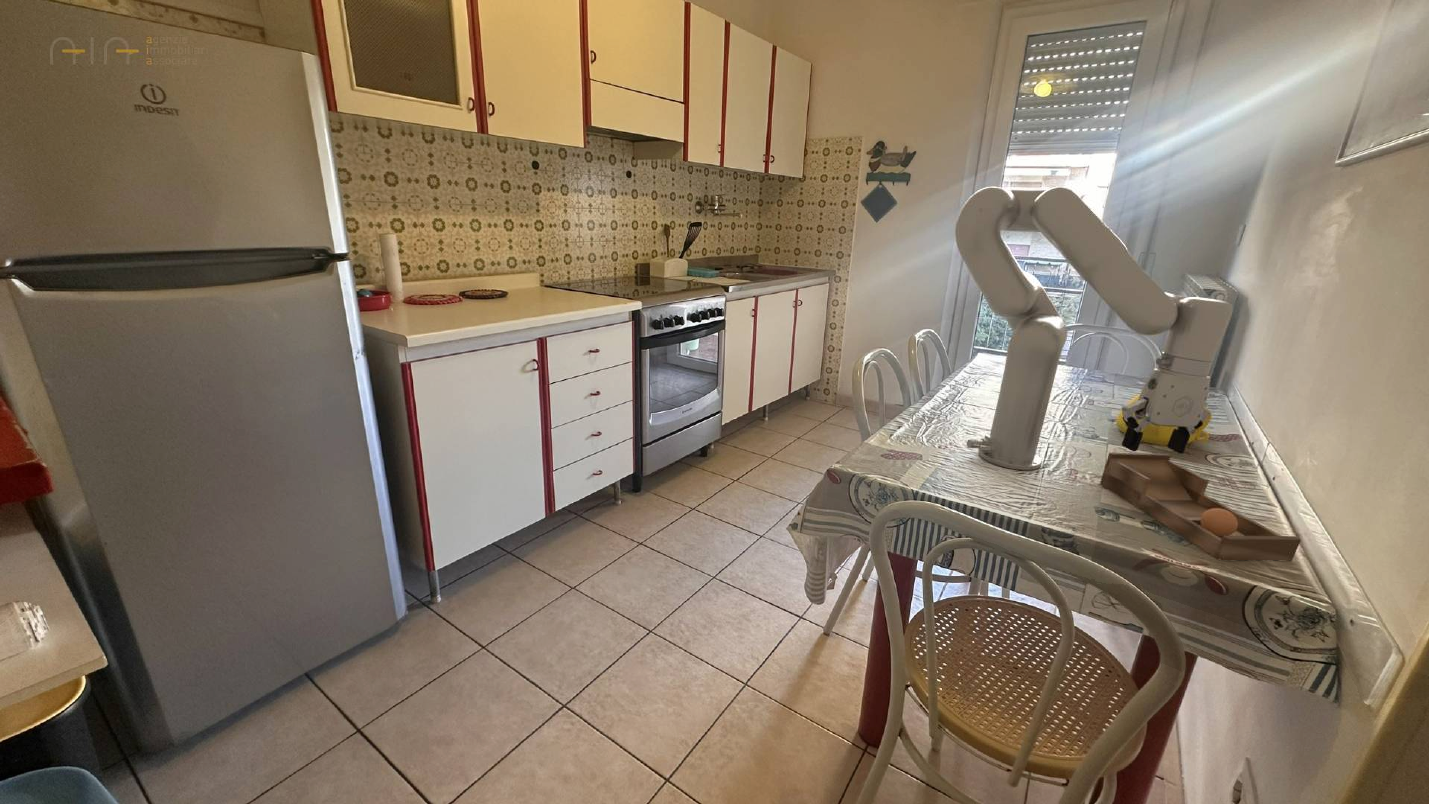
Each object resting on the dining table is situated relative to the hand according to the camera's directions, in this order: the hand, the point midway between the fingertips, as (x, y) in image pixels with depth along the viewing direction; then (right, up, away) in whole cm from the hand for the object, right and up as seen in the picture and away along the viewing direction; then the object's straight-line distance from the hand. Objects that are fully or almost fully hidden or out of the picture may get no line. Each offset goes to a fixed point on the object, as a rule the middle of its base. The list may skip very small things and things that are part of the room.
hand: (1151, 449), depth 109 cm
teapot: (+27, 0, +33) cm, 43 cm away
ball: (+1, -12, -13) cm, 17 cm away
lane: (+1, -12, -6) cm, 14 cm away
